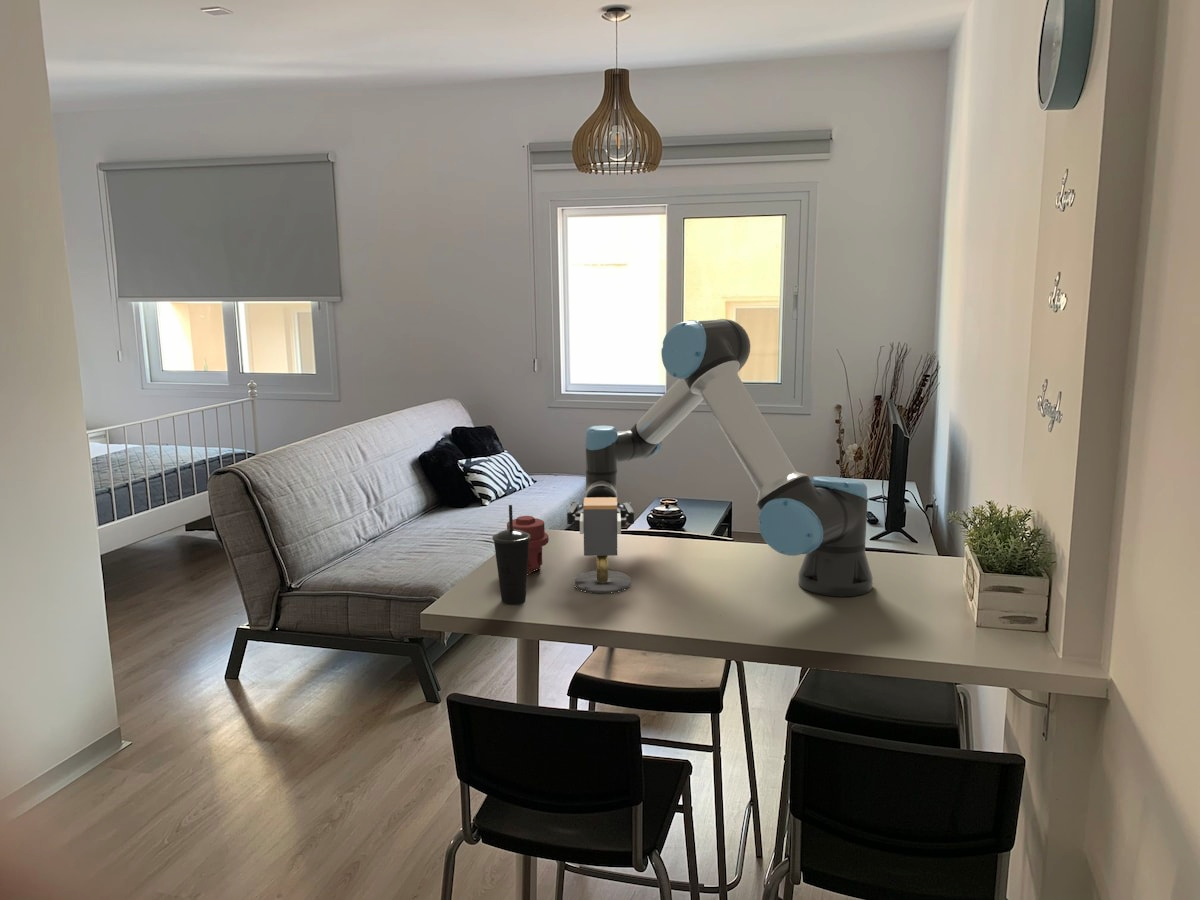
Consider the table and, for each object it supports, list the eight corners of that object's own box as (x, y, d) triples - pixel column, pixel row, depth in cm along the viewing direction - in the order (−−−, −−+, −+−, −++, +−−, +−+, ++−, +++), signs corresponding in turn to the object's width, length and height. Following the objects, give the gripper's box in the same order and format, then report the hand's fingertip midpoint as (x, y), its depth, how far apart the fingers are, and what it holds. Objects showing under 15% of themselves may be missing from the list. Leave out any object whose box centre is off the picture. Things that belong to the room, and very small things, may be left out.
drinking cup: (499, 593, 188) (496, 500, 185) (535, 595, 187) (533, 501, 184) (490, 606, 181) (486, 509, 177) (527, 608, 180) (525, 510, 176)
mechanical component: (550, 564, 208) (547, 577, 198) (507, 564, 208) (502, 578, 198) (549, 512, 206) (546, 523, 196) (505, 512, 206) (500, 523, 196)
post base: (636, 577, 197) (636, 546, 196) (622, 595, 186) (622, 562, 185) (583, 573, 200) (583, 542, 199) (567, 591, 189) (566, 558, 188)
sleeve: (617, 545, 196) (616, 497, 194) (617, 555, 189) (617, 505, 187) (584, 545, 196) (584, 497, 194) (583, 555, 189) (583, 505, 187)
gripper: (644, 516, 209) (648, 544, 187) (558, 516, 209) (552, 545, 187) (644, 484, 208) (648, 509, 185) (557, 485, 208) (551, 510, 185)
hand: (600, 527), depth 186 cm, fingers closed on sleeve, 7 cm apart
